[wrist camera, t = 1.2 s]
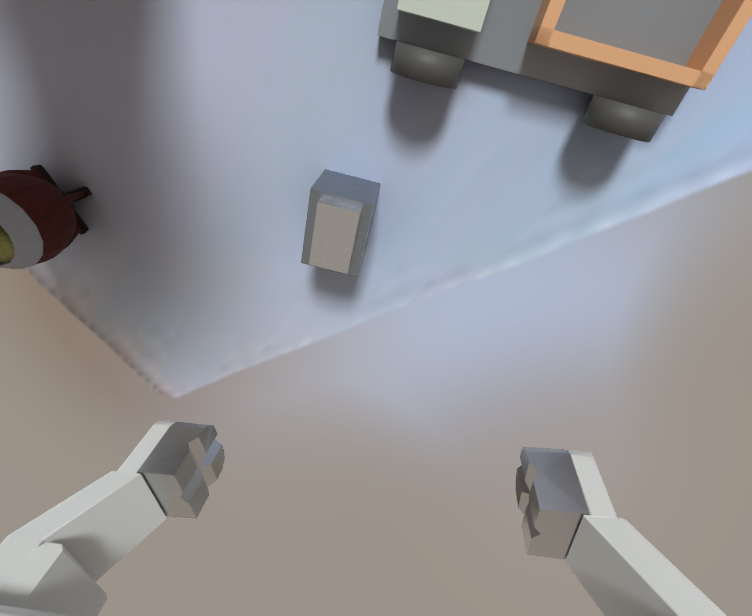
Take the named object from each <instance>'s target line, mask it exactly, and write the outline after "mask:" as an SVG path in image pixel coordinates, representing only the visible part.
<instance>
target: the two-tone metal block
mask: <svg viewBox="0 0 752 616" xmlns="http://www.w3.org/2000/svg"><path fill="white" fill-rule="evenodd" d="M379 186H380V183H376V182H373V181H369V180H365V179H361V178H357V177H353V176H349V175H345V174H342V173H338V172H334V171H330V170H326V169H325V170H324V172H323V173H322V174H321V176H320V177H319V178H318V180H317V181H316V182H315V184H314V185H313V186H312V187H311V190H310V198H309V205H308V213H307V221H306V229H305V236H304V244H303V252H302V259H301V263H304V264H308V265H312V266H316V267H320V268H324V269H328V270H332V271H336V272H340V273H344V274H348V275H352V276H356V277H357V276H358V272H359V269H360V265H361V261H362V258H363V254H364V251H365V247H366V243H367V238H368V234H369V230H370V225H371V221H372V217H373V212H374V208H375V204H376V199H377V195H378V191H379Z"/></svg>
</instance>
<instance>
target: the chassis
mask: <svg viewBox="0 0 752 616" xmlns="http://www.w3.org/2000/svg"><path fill="white" fill-rule="evenodd" d="M751 16H752V0H384V4H383V9H382V15H381V20H380V25H379V31H378V36H382V37H385V38H389V39H393V40H396V46H395V50H394V55H393V60H392V65H391V69H390V71H391V72H393V73H396V74H398V75H401V76H404V77H407V78H410V79H413V80H417V81H420V82H424V83H428V84H432V85H436V86H440V87H445V88H451V89H456V88H457V85H458V82H459V78H460V75H461V72H462V68H463V65H464V62H465V60H469V61H473V62H476V63H480V64H484V65H487V66H491V67H495V68H498V69H502V70H506V71H509V72H513V73H517V74H520V75H524V76H527V77H531V78H535V79H538V80H542V81H546V82H549V83H553V84H557V85H560V86H564V87H568V88H571V89H575V90H579V91H582V92H586V93H589V94H593V97H592V99H591V101H590V103H589V105H588V107H587V109H586V112H585V114H584V116H583V118H582V120H581V122H583V123H585V124H587V125H590V126H593V127H595V128H598V129H601V130H604V131H607V132H610V133H614V134H617V135H620V136H624V137H627V138H631V139H635V140H639V141H644V142H650V141H651V139H652V137H653V135H654V134H655V132H656V130H657V129H658V127H659V125H660V124H661V122H662V120H663V119H664V117H665V115H664V114H666V115H670V116H673V114H674V113H675V111H676V109H677V108H678V106H679V104H680V103H681V101H682V99H683V98H684V96H685V94H686V93H687V91H688V89H689V88H690V87H691V88H696V89H702V90H705V89H706V88H707V86H708V85H709V83H710V81H711V80H712V78H713V76H714V75H715V73H716V72H717V70H718V68H719V67H720V65H721V64H722V62H723V60H724V59H725V57H726V56H727V54H728V52H729V51H730V49H731V48H732V46H733V44H734V43H735V41H736V40H737V38H738V36H739V35H740V33H741V32H742V30H743V28H744V27H745V25H746V24H747V22H748V20H749V19H750V17H751ZM658 112H659V113H658ZM661 113H662V114H661Z"/></svg>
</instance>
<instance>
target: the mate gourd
mask: <svg viewBox="0 0 752 616" xmlns="http://www.w3.org/2000/svg"><path fill="white" fill-rule="evenodd" d="M30 169H31V170H7V171H2V172H0V267H2V268H10V269H22V268H26V267H29V266H32V265H35V264H38V263H42V262H45V261H47V260H49V259H52V258H54V257H55V256H56V255H58V254H59V253H60V252H61V251H62V250H64V249H65V248H66V247H68V246H69V245H70V243H71V242H72V241H73V240H74V239H75V237H76V236H77V235H78V234H79V233H80V234H84V233H86V232H87V231H88V230H89V229H88V227H87V226H86V224H85V223H84V222H83V220H82V219H81V218H80V216H79V215H78V214H77V212H76V211H75V209H74V207H73V202H75V201H77V200H80V199H83V198H86V197H88V196H90V195H92V194H91V192H90V190H89V189H88V188H87V187H82V188H79V189H76V190H73V191H71V192H67V193H63V192H62V191H61V190H60V189H59V188H58V186H57V185H56V184H55V182H54V181H53V180H52V178H51V177H50V176H49V174H48V173H47V172H46V170H45V169H44V168H43V167H42V165H34V166H32V167H31V168H30Z"/></svg>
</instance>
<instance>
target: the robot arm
mask: <svg viewBox="0 0 752 616" xmlns="http://www.w3.org/2000/svg"><path fill="white" fill-rule="evenodd" d="M216 436H217V432H216V429H215V428H214V426H213V425H202V424H193V423H182V422H173V421H158V422H157V423H155V424H154V425H153V426H152V427H151V428H150V430H149V431H148V432H147V434H146V435H145V436H144V438H143V439H142V440H141V441H140V443H139V444H138V445H137V446H136V448H135V449H134V450H133V452H132V453H131V454H130V455H129V457H128V458H127V459H126V461H125V462H124V463H123V464H122V466H121V467H120V468H119V469H118V471H111V472H110V473H108V474H106V475H105V476H103V477H102V478H100V479H98V480H97V481H95V482H93V483H92V484H90V485H89V486H87V487H85V488H84V489H82V490H81V491H79V492H77V493H76V494H74V495H73V496H71V497H69V498H68V499H66V500H65V501H63V502H61V503H60V504H58V505H57V506H55V507H53V508H52V509H50V510H49V511H47V512H45V513H44V514H42V515H40V516H39V517H37V518H36V519H34V520H32V521H31V522H29V523H27V524H26V525H24V526H23V527H21V528H20V529H18V530H16V531H15V532H13V533H11V534H10V535H8V536H7V537H6V538H5V540H4V541H3V542H2V543H1V544H0V616H98V614H99V612H100V611H101V609H102V607H103V606H104V604H105V602H106V601H107V596H106V593H105V592H104V591H103V590H102V588H101V587H100V586H99V585H98V584H97V583H96V581H97V580H98V579H99V578H100V577H102V576H103V575H104V574H105V573H106V572H107V571H108V570H109V569H110V568H111V567H113V566H114V565H115V564H116V563H117V562H118V561H119V560H121V559H122V558H123V557H124V556H125V555H126V554H127V553H128V552H129V551H131V550H132V549H133V548H134V547H135V546H136V545H137V544H138V543H140V542H141V541H142V540H143V539H144V538H145V537H146V536H147V535H148V534H149V533H151V532H152V531H153V530H154V529H155V528H156V527H157V526H158V525H159V524H161V523H162V522H163V521H164V520H165V519H166V518H167V517H166V516H171V517H183V518H197V517H198V515H199V513H200V511H201V509H202V507H203V506H204V504H205V502H206V500H207V498H208V496H209V491H208V486H209V485H211V484H212V483H213V482H215V481H216V480H217V479H218V477H219V475H220V473H221V471H222V468H223V463H224V449H223V447H222V444H220V443H219V442H218V441H217V440H215V437H216ZM520 459H521V464H522V465H521V466H520V467H518V468H517V474H516V495H517V501H518V508H519V509H520V510H521V511H522V512H523V513H524V518H523V522H522V530H523V536H524V541H525V546H526V552H527V554H529V555H536V556H544V557H551V558H559V559H566V560H565V562H566V563H567V565H568V566H569V568H570V569H571V570H572V572H573V573H574V574H575V576H576V577H577V578H578V580H579V581H580V583H581V584H582V585H583V587H584V588H585V589H586V591H587V592H588V594H589V595H590V596H591V598H592V599H593V600H594V602H595V603H596V605H597V606H598V607H599V608H600V610H601V611H602V613H603V614H604V616H726V615H725V614H724V613H723V612H722V611H721V610H720V609H719V608H718V607H717V606H716V605H715V604H713V602H712V601H711V600H709V599H708V598H707V597H706V596H705V595H704V594H703V593H702V592H701V591H700V590H699V589H698V588H697V587H696V586H695V585H694V584H693V583H692V582H691V581H689V580H688V579H687V578H686V577H685V576H684V575H683V574H682V573H681V572H680V571H679V570H678V569H677V568H676V567H675V566H674V565H673V564H672V563H671V562H669V561H668V560H667V559H666V558H665V557H664V556H663V555H662V554H661V553H660V552H659V551H658V550H657V549H656V548H654V546H653V545H652V544H650V543H649V542H648V541H647V540H646V539H645V538H644V537H643V536H642V535H641V534H640V533H639V532H638V531H637V530H636V529H635V528H634V527H633V526H631V524H630V523H628V522H627V521H626V520H625V519H623V518H617V516H616V513H615V511H614V508H613V506H612V503H611V500H610V498H609V495H608V493H607V490H606V488H605V486H604V483H603V480H602V478H601V475H600V473H599V470H598V467H597V465H596V462H595V460H594V457H593V455H592V454H591V453H590V452H588V451H574V450H564V449H550V448H532V447H523V449H522V451H521V455H520Z"/></svg>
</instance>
